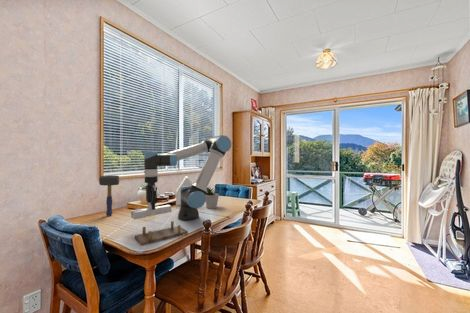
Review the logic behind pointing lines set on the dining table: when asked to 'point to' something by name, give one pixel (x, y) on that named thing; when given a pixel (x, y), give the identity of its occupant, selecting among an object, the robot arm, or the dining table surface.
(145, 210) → the grey long bar
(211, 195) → the potted plant
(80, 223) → the dining table surface
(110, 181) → the rubber mallet
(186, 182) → the milk carton
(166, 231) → the tool rack
